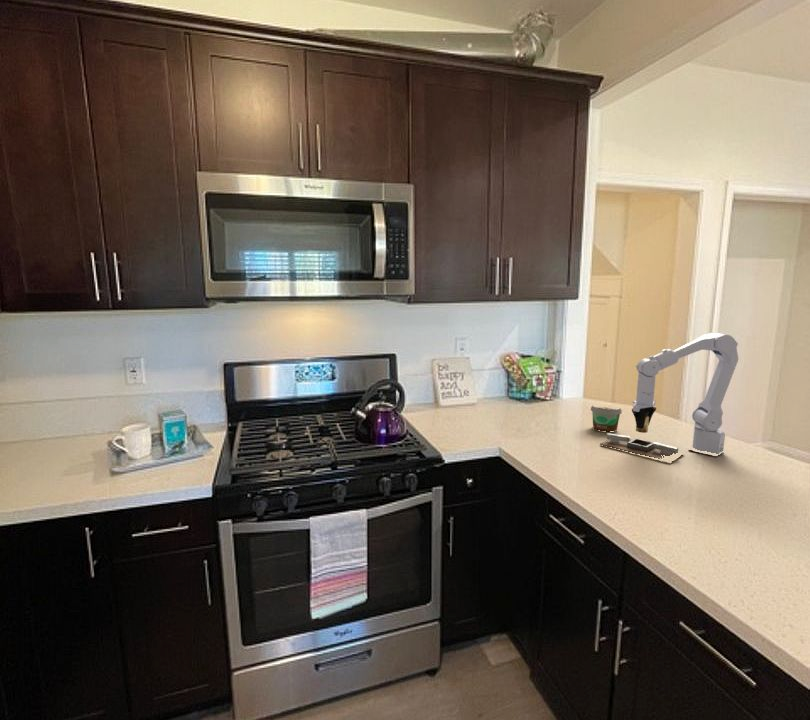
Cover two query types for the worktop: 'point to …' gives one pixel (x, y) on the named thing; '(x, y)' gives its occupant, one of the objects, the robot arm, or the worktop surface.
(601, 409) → the food container
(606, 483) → the worktop surface
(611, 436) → the stand
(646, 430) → the brass coupler
